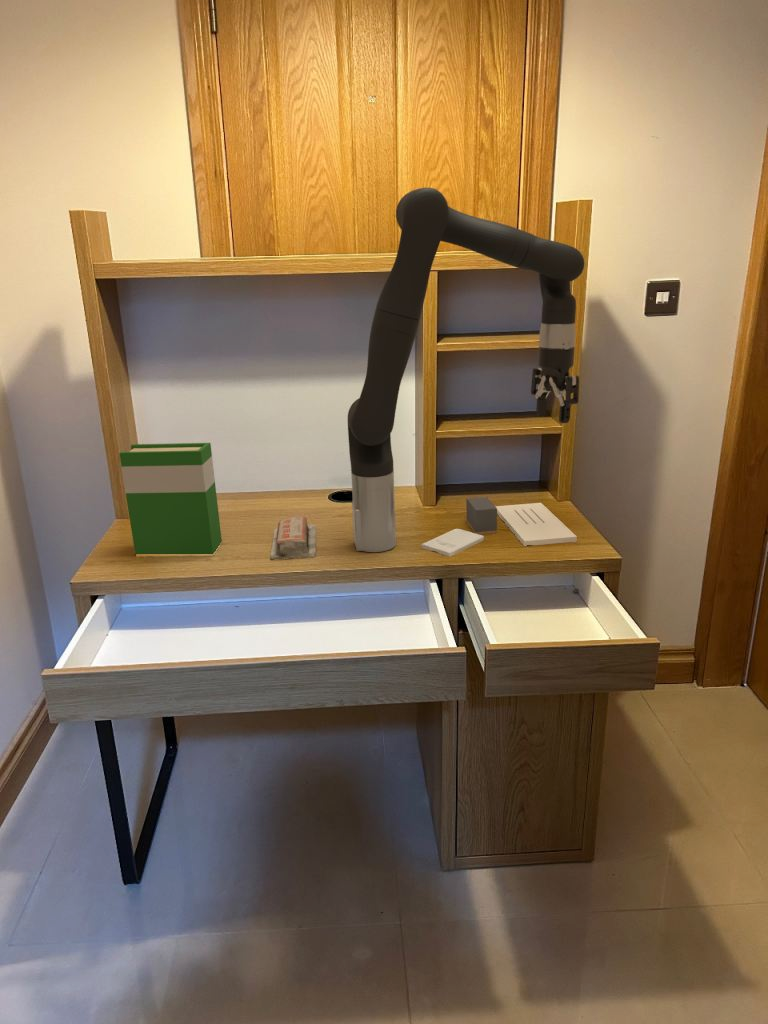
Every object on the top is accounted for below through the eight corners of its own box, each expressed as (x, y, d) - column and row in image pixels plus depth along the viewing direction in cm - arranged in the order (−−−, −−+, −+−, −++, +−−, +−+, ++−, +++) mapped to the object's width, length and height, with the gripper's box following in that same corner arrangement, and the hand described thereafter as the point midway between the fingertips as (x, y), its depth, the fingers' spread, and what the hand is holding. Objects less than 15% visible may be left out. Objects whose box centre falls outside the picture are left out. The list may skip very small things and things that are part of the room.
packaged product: (315, 539, 162) (268, 541, 162) (316, 559, 164) (270, 562, 163) (315, 511, 179) (273, 514, 178) (316, 530, 181) (274, 533, 180)
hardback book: (135, 557, 168) (119, 453, 160) (147, 544, 175) (132, 444, 167) (213, 556, 166) (200, 451, 159) (222, 543, 173) (210, 442, 166)
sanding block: (496, 533, 174) (497, 508, 172) (475, 534, 173) (475, 510, 171) (486, 520, 182) (486, 496, 180) (466, 521, 182) (466, 498, 180)
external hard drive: (484, 542, 170) (449, 559, 162) (455, 534, 175) (420, 550, 167) (484, 535, 170) (449, 552, 161) (455, 527, 175) (420, 543, 166)
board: (524, 546, 165) (524, 540, 165) (494, 510, 188) (494, 506, 187) (576, 541, 167) (576, 536, 166) (540, 507, 189) (540, 502, 189)
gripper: (523, 342, 166) (520, 414, 172) (562, 349, 154) (557, 427, 159) (551, 340, 169) (547, 411, 174) (592, 347, 157) (586, 423, 162)
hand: (552, 418), depth 167 cm, fingers open, 8 cm apart
